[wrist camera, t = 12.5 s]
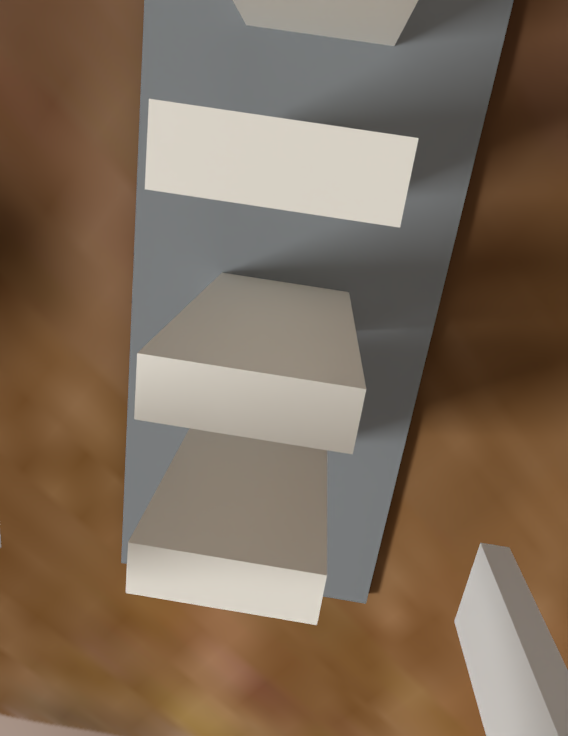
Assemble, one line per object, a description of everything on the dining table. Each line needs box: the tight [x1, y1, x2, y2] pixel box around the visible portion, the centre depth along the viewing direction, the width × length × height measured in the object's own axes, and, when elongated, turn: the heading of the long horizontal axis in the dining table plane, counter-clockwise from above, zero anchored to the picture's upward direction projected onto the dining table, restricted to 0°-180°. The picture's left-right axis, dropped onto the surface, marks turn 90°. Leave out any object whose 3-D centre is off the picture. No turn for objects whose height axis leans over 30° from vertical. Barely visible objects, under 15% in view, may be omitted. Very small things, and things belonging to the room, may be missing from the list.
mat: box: [121, 0, 514, 604], centre depth 21 cm, size 34×12×1 cm, turn 172°
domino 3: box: [126, 428, 327, 625], centre depth 18 cm, size 2×5×10 cm, turn 82°
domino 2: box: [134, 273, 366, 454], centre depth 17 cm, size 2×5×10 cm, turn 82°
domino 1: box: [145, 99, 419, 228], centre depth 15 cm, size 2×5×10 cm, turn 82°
